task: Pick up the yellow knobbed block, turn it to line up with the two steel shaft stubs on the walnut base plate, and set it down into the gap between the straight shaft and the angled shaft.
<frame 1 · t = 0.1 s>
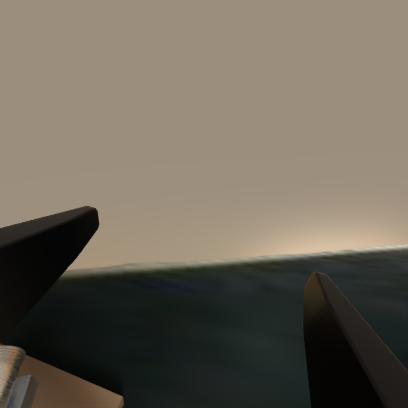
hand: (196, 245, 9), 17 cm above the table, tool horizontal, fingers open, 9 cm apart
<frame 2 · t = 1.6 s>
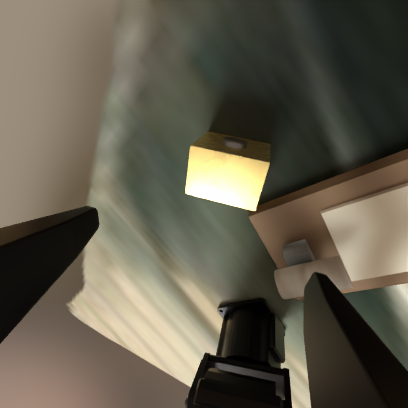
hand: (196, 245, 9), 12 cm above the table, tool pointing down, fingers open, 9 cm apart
base plate: (370, 225, 19), on the table
yellow knobbed block: (234, 158, 19), on the table
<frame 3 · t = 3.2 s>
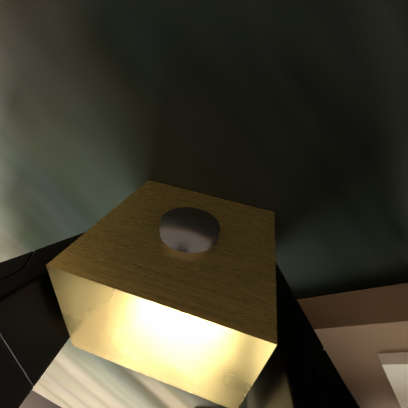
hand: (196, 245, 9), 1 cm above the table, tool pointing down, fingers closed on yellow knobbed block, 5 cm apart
yellow knobbed block: (202, 230, 10), on the table, touching gripper
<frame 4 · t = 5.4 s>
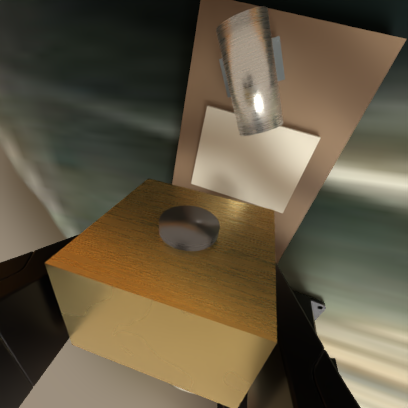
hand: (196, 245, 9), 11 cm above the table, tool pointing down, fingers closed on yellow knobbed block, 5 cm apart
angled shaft: (256, 79, 15), resting on base plate
base plate: (249, 155, 18), on the table
yellow knobbed block: (202, 229, 10), point 10 cm above the table, touching gripper
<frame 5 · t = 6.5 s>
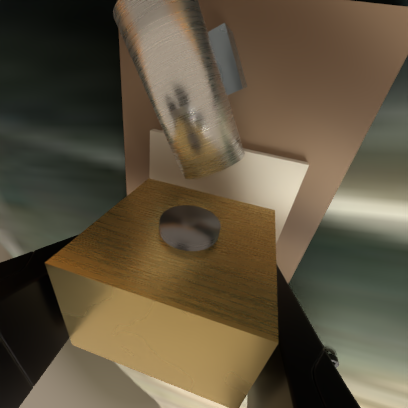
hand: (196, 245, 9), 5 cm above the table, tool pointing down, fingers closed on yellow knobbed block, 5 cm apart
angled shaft: (215, 88, 11), resting on base plate
base plate: (221, 186, 13), on the table
yellow knobbed block: (202, 229, 10), point 4 cm above the table, touching gripper
when the fingers open (4 cm above the table, at t = 7.5 s): yellow knobbed block drops 1 cm, resting on base plate.
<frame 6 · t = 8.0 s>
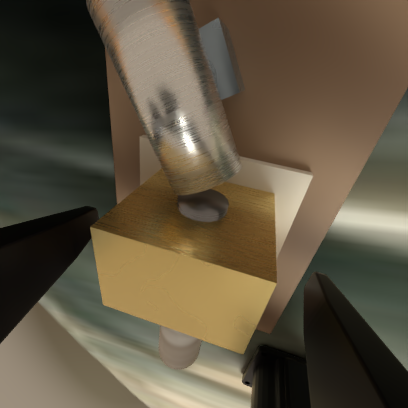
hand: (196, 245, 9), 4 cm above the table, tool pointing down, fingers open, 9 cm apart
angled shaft: (211, 91, 10), resting on base plate
base plate: (217, 195, 13), on the table
yellow knobbed block: (210, 212, 11), point 2 cm above the table, touching base plate
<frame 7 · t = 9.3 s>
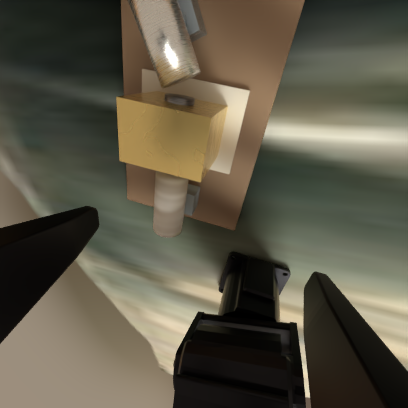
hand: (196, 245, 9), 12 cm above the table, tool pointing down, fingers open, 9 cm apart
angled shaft: (189, 40, 15), resting on base plate
base plate: (195, 120, 18), on the table
yellow knobbed block: (188, 124, 16), point 2 cm above the table, touching base plate
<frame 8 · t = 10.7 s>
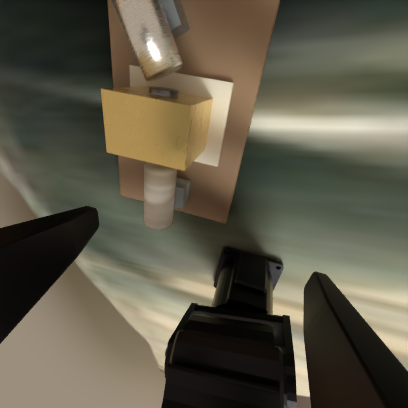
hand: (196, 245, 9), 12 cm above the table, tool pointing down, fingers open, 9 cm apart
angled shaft: (174, 36, 16), resting on base plate
base plate: (184, 115, 18), on the table
yellow knobbed block: (176, 118, 17), point 2 cm above the table, touching base plate
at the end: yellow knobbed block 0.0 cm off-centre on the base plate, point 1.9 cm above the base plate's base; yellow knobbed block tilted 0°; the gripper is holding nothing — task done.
